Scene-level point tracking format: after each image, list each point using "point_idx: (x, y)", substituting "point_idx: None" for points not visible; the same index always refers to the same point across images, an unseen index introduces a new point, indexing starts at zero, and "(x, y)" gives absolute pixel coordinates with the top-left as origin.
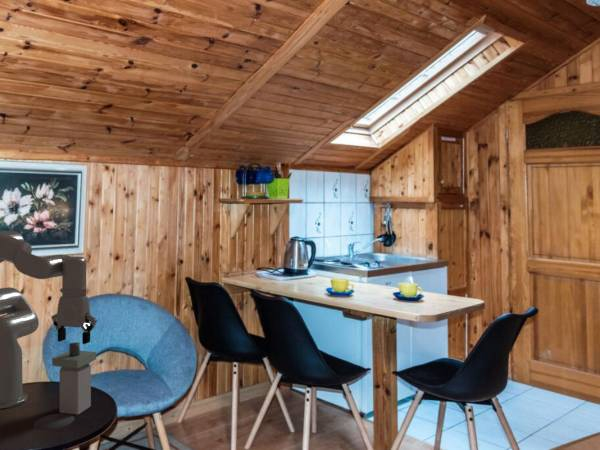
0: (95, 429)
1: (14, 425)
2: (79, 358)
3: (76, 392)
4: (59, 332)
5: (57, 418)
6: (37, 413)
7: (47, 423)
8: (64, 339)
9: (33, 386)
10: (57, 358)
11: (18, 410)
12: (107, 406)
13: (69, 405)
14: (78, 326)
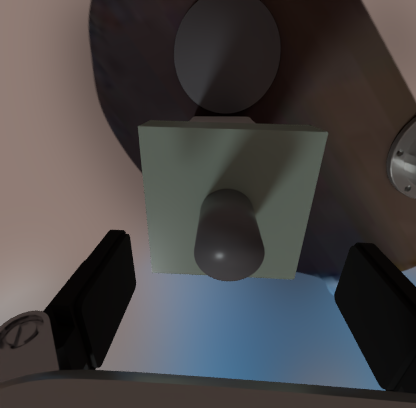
0: (93, 51)
1: (334, 9)
2: (157, 167)
3: None
4: (411, 307)
5: (229, 77)
6: (311, 105)
7: (236, 37)
8: (337, 287)
9: (409, 246)
10: (289, 135)
11: (376, 110)
12: None
13: (218, 119)
14: (13, 383)
